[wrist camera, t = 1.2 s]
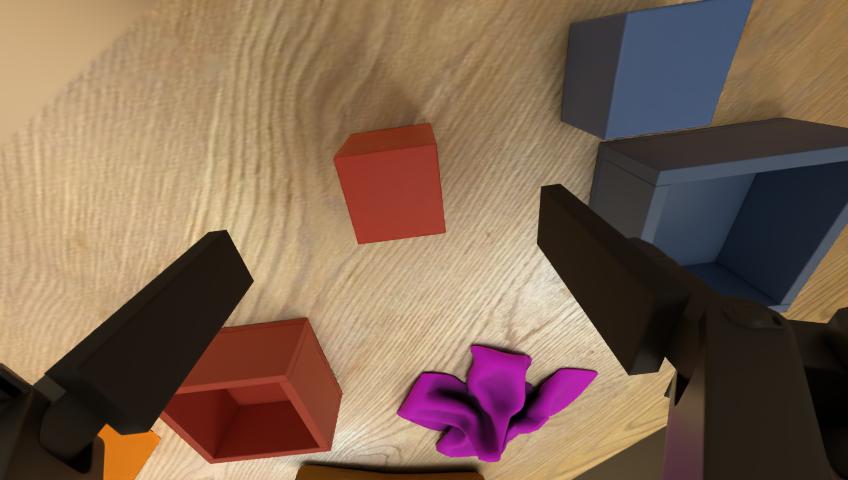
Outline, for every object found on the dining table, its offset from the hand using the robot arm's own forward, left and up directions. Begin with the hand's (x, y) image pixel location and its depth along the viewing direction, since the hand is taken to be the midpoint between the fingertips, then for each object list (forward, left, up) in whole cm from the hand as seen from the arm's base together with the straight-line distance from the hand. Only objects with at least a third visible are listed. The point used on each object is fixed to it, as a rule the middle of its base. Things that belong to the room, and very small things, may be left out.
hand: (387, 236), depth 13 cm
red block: (0, 0, -8) cm, 8 cm away
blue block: (-4, +13, -8) cm, 16 cm away
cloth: (+28, +6, -9) cm, 30 cm away
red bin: (+18, -16, -8) cm, 25 cm away
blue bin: (+6, +19, -8) cm, 22 cm away
